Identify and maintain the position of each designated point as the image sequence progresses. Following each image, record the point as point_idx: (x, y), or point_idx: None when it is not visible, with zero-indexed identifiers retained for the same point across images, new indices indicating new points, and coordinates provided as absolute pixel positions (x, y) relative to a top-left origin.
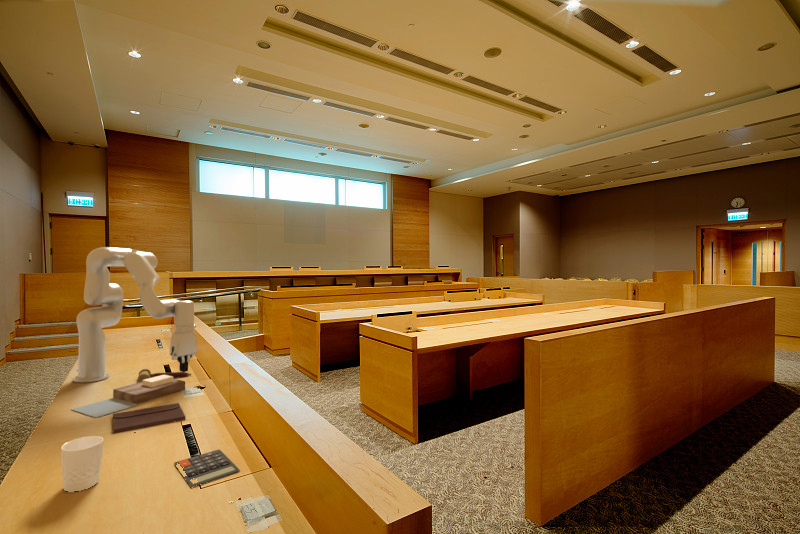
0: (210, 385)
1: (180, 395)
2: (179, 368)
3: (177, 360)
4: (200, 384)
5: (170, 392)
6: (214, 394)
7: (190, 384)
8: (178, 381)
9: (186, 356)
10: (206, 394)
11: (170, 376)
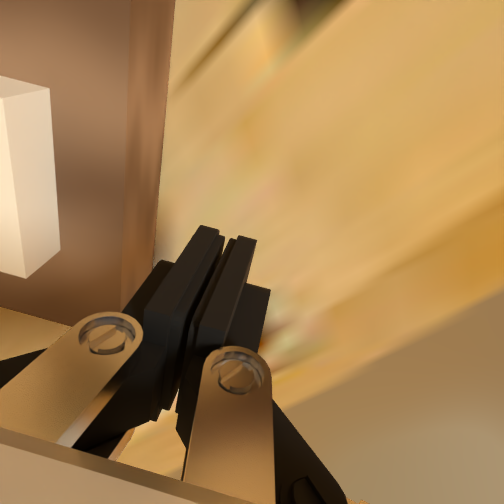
0: (298, 389)
1: (56, 330)
2: (157, 264)
3: (14, 365)
4: (302, 322)
5: None
6: (160, 460)
7: (279, 251)
8: (85, 294)
9: (248, 478)
10: (142, 432)
11: (9, 246)
